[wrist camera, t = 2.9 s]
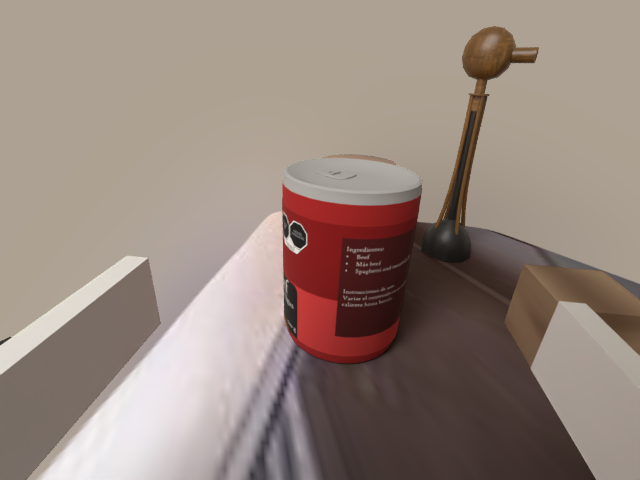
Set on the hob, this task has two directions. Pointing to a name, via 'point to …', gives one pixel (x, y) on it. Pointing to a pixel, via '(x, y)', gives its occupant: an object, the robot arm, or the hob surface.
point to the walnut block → (570, 286)
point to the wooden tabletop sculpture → (471, 138)
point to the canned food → (346, 254)
